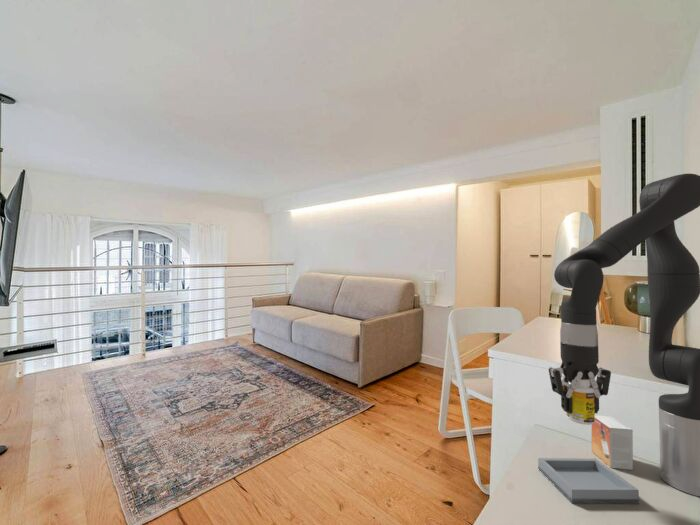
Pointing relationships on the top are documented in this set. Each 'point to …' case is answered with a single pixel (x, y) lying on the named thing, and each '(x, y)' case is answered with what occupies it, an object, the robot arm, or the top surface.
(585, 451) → the top surface
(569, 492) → the slate tray
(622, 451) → the small box
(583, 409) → the supplement bottle
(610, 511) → the top surface
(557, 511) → the top surface
